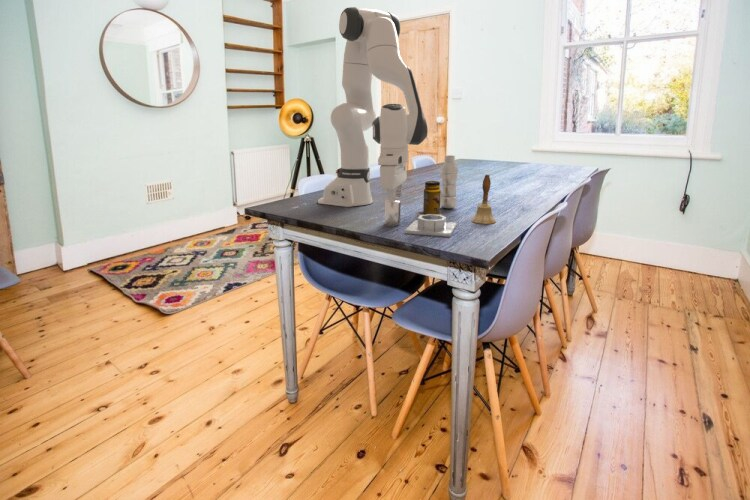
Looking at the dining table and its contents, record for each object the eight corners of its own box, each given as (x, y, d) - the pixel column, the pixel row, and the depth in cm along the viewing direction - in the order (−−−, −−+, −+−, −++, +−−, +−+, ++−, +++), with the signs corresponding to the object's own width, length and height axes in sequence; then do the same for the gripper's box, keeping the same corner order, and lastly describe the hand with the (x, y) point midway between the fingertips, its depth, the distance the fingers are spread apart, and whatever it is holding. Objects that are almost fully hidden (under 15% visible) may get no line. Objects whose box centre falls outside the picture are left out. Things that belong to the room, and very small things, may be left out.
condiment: (443, 216, 165) (444, 182, 162) (421, 217, 163) (422, 183, 160) (436, 211, 172) (437, 179, 168) (414, 212, 170) (415, 180, 166)
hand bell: (478, 217, 163) (481, 172, 158) (499, 220, 158) (503, 174, 153) (466, 221, 157) (469, 175, 152) (489, 225, 152) (492, 177, 147)
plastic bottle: (456, 210, 173) (459, 157, 167) (438, 209, 175) (440, 156, 169) (456, 206, 179) (459, 155, 173) (439, 206, 181) (441, 154, 175)
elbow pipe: (382, 225, 152) (383, 201, 150) (387, 221, 157) (387, 198, 154) (397, 226, 151) (398, 202, 148) (401, 223, 155) (402, 199, 153)
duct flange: (405, 233, 143) (405, 220, 142) (415, 222, 155) (415, 211, 154) (450, 236, 139) (450, 224, 137) (456, 225, 151) (457, 214, 150)
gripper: (392, 153, 157) (393, 193, 161) (376, 160, 139) (377, 205, 143) (410, 153, 156) (411, 194, 160) (396, 160, 137) (397, 205, 141)
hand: (395, 199), depth 151 cm, fingers open, 8 cm apart
